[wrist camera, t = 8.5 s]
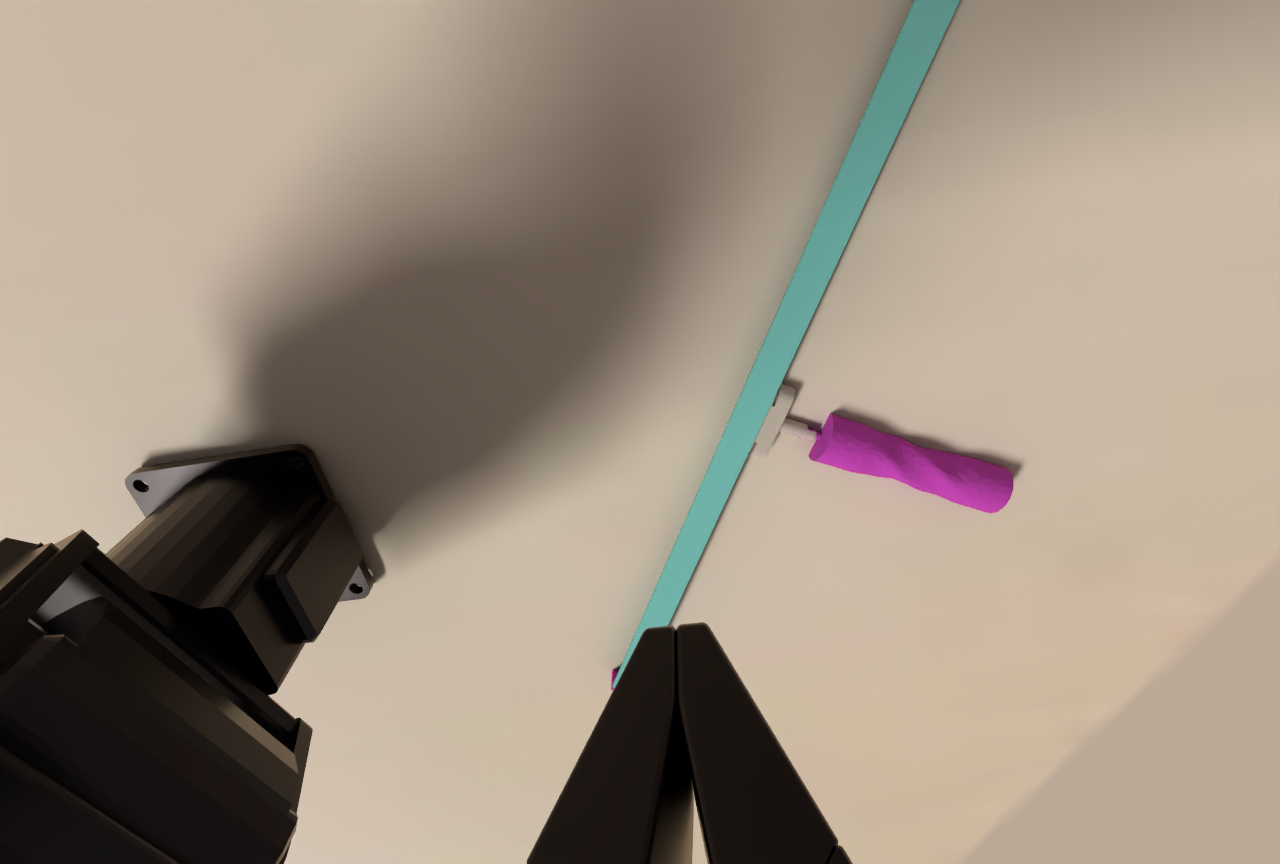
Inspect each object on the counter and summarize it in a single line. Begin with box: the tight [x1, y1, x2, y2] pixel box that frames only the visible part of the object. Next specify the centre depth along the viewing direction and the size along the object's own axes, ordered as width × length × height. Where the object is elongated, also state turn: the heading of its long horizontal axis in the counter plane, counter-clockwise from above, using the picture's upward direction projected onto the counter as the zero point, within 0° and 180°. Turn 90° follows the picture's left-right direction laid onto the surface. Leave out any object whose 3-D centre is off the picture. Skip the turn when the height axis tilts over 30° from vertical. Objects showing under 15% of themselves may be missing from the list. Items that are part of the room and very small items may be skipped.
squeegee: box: [611, 0, 1013, 690], centre depth 22 cm, size 29×2×10 cm
